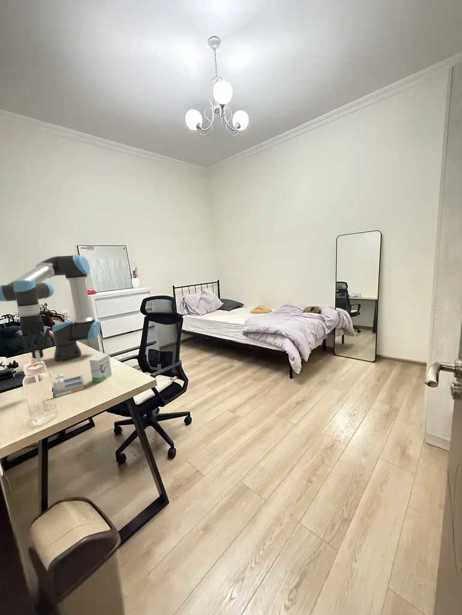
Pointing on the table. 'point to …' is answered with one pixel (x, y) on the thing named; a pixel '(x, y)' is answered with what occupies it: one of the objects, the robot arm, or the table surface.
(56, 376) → the tab
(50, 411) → the table surface
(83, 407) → the table surface
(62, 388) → the tab
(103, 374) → the ink box
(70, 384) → the switch bank
